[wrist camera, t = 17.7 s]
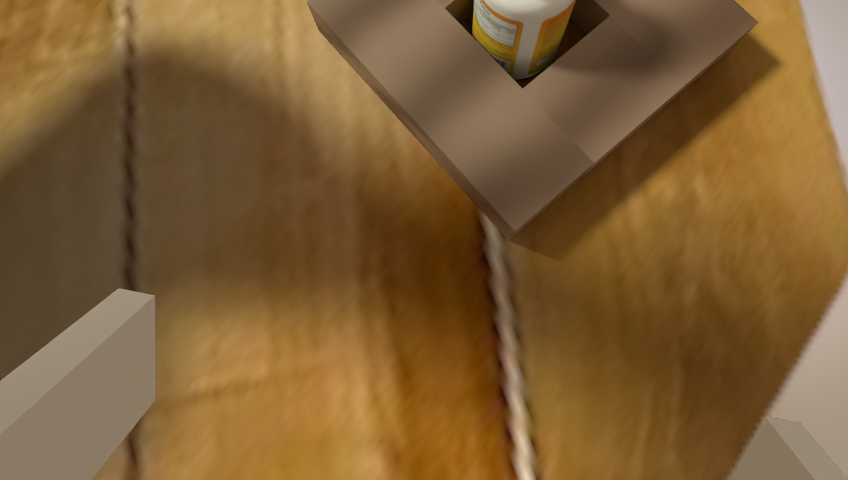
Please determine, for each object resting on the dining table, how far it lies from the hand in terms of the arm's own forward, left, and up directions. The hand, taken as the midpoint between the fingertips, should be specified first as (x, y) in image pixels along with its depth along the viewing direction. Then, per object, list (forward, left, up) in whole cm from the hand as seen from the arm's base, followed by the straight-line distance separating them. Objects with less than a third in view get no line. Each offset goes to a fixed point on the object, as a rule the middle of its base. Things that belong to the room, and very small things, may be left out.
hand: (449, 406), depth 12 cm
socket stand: (-12, +16, -19) cm, 28 cm away
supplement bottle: (-12, +16, -19) cm, 28 cm away
